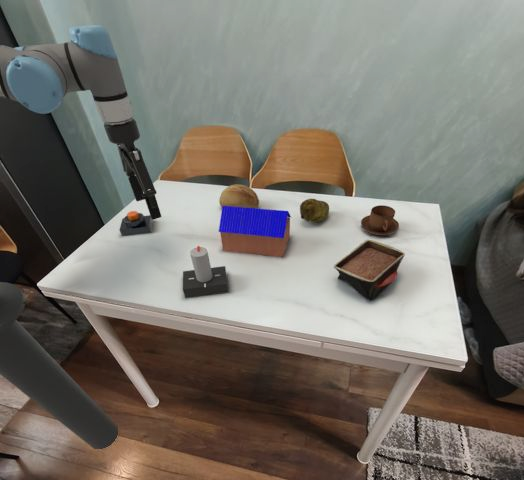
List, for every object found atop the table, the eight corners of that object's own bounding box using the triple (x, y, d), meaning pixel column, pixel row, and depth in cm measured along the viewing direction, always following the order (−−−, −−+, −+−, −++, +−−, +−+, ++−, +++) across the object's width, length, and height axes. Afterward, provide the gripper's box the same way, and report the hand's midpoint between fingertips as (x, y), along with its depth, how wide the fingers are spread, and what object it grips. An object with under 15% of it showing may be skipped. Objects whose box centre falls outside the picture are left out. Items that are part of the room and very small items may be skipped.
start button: (128, 221, 104) (126, 216, 102) (129, 216, 106) (127, 211, 105) (138, 220, 104) (137, 215, 103) (139, 215, 106) (138, 210, 105)
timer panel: (185, 298, 83) (182, 289, 81) (185, 279, 89) (182, 270, 86) (228, 292, 84) (227, 283, 81) (226, 273, 89) (224, 264, 87)
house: (283, 257, 93) (284, 221, 84) (221, 251, 97) (215, 215, 88) (290, 236, 100) (291, 201, 91) (232, 231, 104) (228, 196, 95)
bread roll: (257, 215, 110) (255, 192, 104) (217, 214, 112) (213, 191, 106) (261, 203, 116) (260, 180, 110) (223, 201, 118) (220, 179, 112)
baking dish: (325, 286, 87) (328, 260, 78) (366, 253, 92) (373, 225, 83) (365, 314, 81) (373, 289, 72) (407, 277, 85) (419, 250, 77)
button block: (122, 235, 105) (117, 224, 102) (125, 224, 110) (120, 213, 107) (151, 232, 106) (147, 221, 103) (152, 220, 111) (149, 210, 108)
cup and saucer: (404, 233, 99) (411, 215, 94) (373, 242, 96) (378, 223, 92) (382, 216, 106) (387, 199, 101) (352, 224, 104) (356, 206, 99)
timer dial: (212, 281, 83) (207, 254, 76) (196, 283, 82) (189, 256, 76) (212, 271, 85) (206, 244, 79) (196, 273, 85) (189, 246, 79)
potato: (337, 220, 106) (340, 197, 99) (305, 231, 102) (307, 207, 96) (323, 210, 110) (326, 187, 104) (292, 220, 107) (293, 197, 101)
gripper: (151, 129, 67) (176, 222, 83) (119, 106, 80) (146, 189, 97) (118, 137, 64) (150, 230, 81) (90, 112, 78) (123, 196, 94)
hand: (148, 208), depth 89 cm, fingers open, 13 cm apart
